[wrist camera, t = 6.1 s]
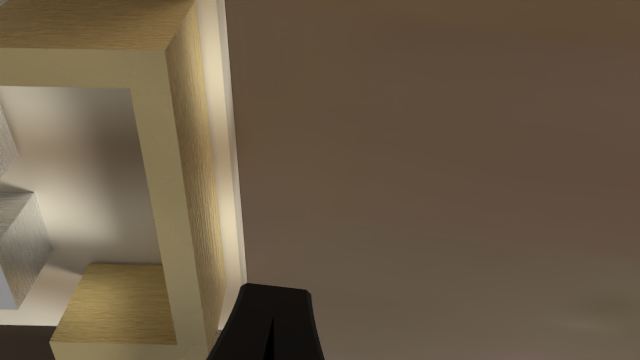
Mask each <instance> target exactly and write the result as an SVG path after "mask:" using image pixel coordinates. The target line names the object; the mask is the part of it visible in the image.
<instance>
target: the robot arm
mask: <svg viewBox="0 0 640 360" xmlns="http://www.w3.org/2000/svg"><path fill="white" fill-rule="evenodd" d="M206 360H325V359H324V356H323V352H322V349H321V345H320V341H319V337H318V333H317V329H316V324H315V320H314V314H313V308H312V300H311V294H310V293H309V292H308V291H307V290H303V289H295V288H286V287H278V286H269V285H260V284H252V283H246V284H244V285H242V286H241V287H240V290H239V293H238V296H237V299H236V302H235V304H234V307H233V309H232V311H231V314H230V316H229V318H228V320H227V322H226V324H225V326H224V328H223V330H222V332H221V334H220V336H219V338H218V339H217V341H216V343H215V345H214V346H213V348H212V350H211V352H210V353H209V355H208V357H207V359H206Z"/></svg>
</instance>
